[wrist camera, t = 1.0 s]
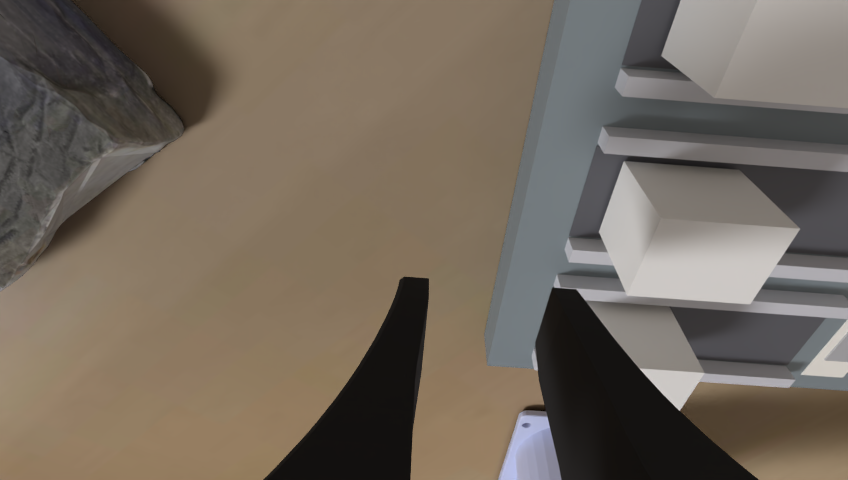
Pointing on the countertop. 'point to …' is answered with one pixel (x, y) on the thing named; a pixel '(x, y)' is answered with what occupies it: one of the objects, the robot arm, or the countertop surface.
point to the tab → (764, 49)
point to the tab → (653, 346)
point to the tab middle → (693, 233)
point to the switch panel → (676, 145)
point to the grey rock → (65, 123)
